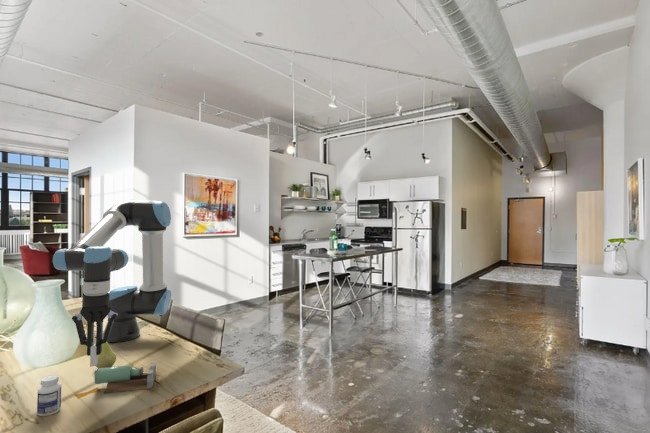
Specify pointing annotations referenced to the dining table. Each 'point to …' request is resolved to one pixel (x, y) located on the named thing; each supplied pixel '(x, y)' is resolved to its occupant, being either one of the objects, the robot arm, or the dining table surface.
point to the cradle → (134, 382)
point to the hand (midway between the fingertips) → (93, 364)
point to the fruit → (106, 357)
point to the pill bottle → (49, 396)
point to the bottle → (116, 374)
